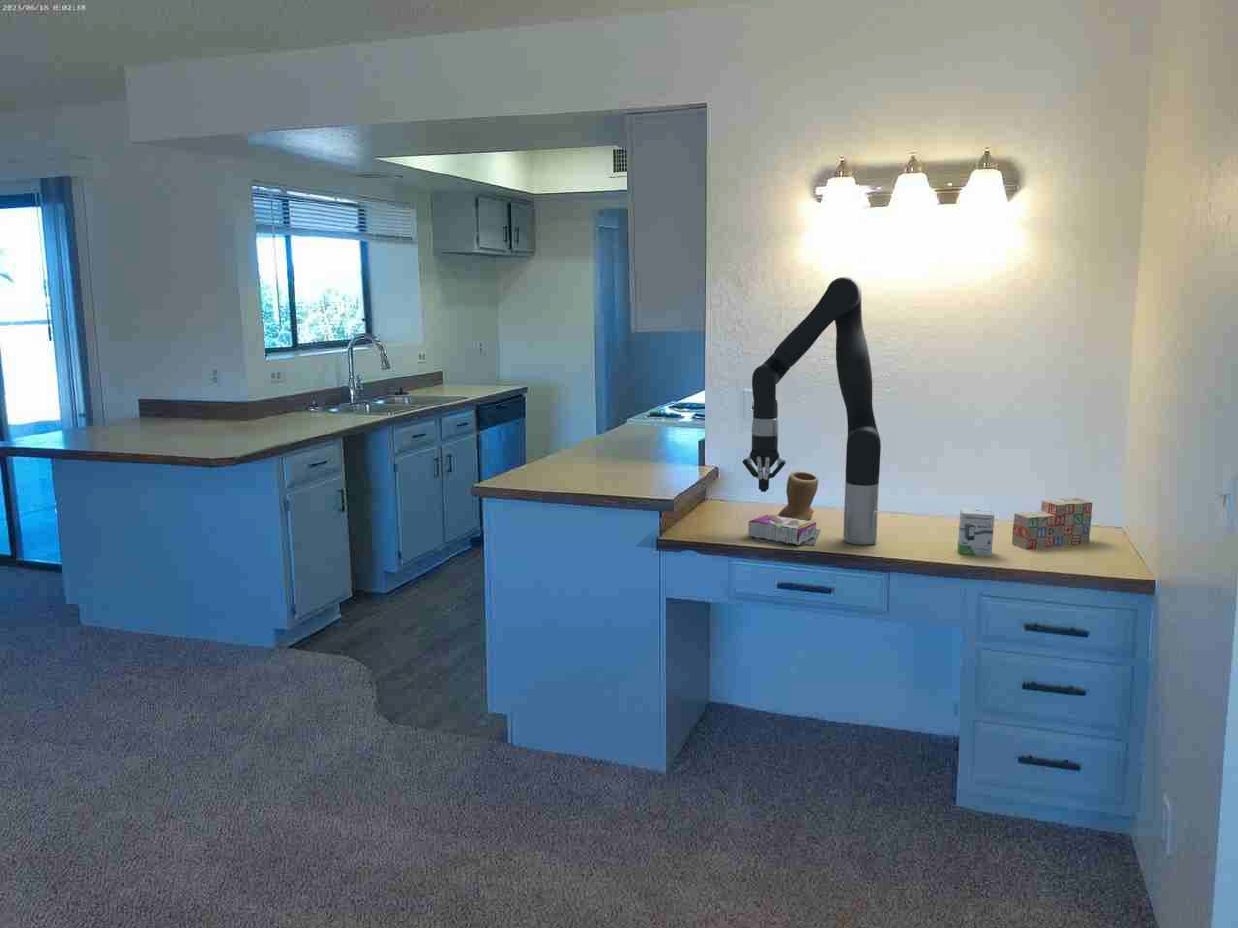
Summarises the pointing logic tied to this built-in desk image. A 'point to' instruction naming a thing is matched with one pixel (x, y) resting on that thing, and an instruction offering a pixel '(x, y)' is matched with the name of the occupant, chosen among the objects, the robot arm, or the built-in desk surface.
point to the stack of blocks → (1053, 524)
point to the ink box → (976, 532)
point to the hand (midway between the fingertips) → (763, 491)
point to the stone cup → (800, 495)
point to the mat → (808, 543)
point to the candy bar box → (782, 529)
